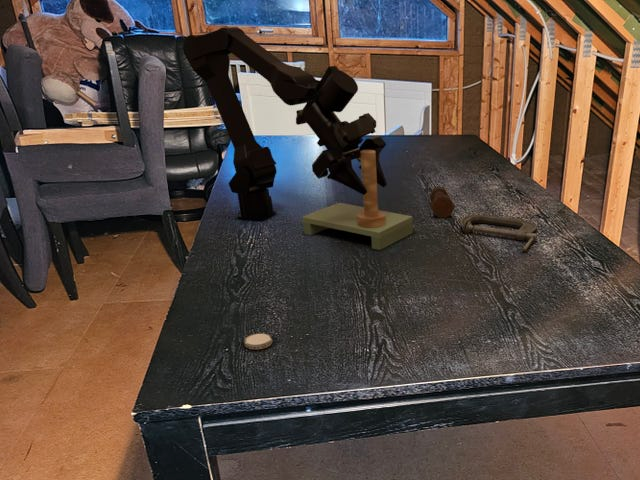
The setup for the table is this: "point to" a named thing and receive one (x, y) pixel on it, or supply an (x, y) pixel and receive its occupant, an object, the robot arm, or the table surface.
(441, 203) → the bolt
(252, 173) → the robot arm
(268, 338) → the tan bottle cap
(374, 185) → the wooden peg stand
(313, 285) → the table surface
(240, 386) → the table surface
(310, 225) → the shelf
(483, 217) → the c clamp
